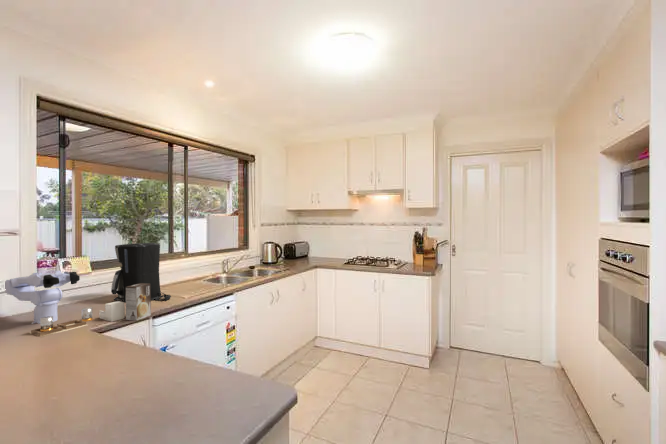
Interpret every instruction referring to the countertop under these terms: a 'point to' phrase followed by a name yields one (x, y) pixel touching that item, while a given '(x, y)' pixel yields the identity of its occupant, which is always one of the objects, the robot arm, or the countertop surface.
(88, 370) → the countertop surface
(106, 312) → the feeder
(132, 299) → the coffee box
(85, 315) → the sleeve
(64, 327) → the seat board
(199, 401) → the countertop surface
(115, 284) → the coffee maker
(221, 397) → the countertop surface
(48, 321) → the sleeve
